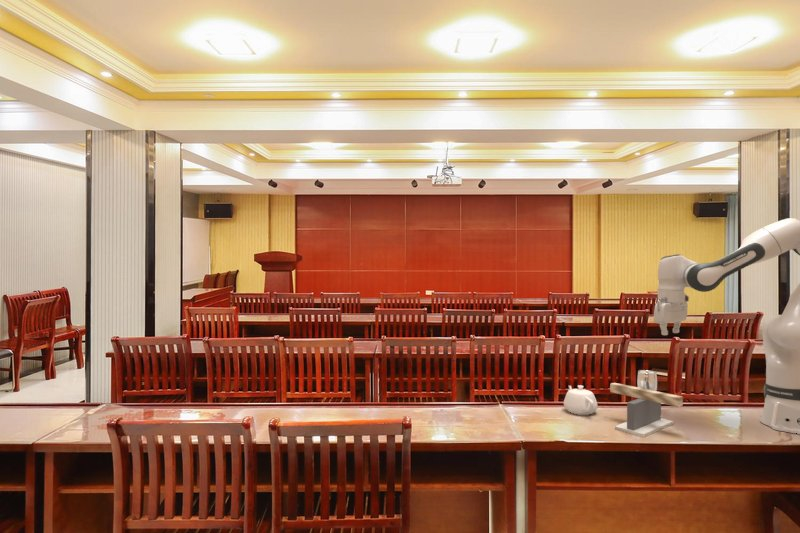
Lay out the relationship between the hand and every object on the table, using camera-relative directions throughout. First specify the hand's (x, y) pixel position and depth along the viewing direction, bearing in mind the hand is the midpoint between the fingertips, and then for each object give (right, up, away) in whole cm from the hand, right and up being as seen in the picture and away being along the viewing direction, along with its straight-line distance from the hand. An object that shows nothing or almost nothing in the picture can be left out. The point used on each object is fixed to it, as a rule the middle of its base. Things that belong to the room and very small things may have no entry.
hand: (670, 333), depth 186 cm
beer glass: (-5, -31, +8) cm, 33 cm away
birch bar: (-16, -21, -12) cm, 29 cm away
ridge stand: (-16, -31, -12) cm, 37 cm away
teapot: (-32, -31, +6) cm, 45 cm away
